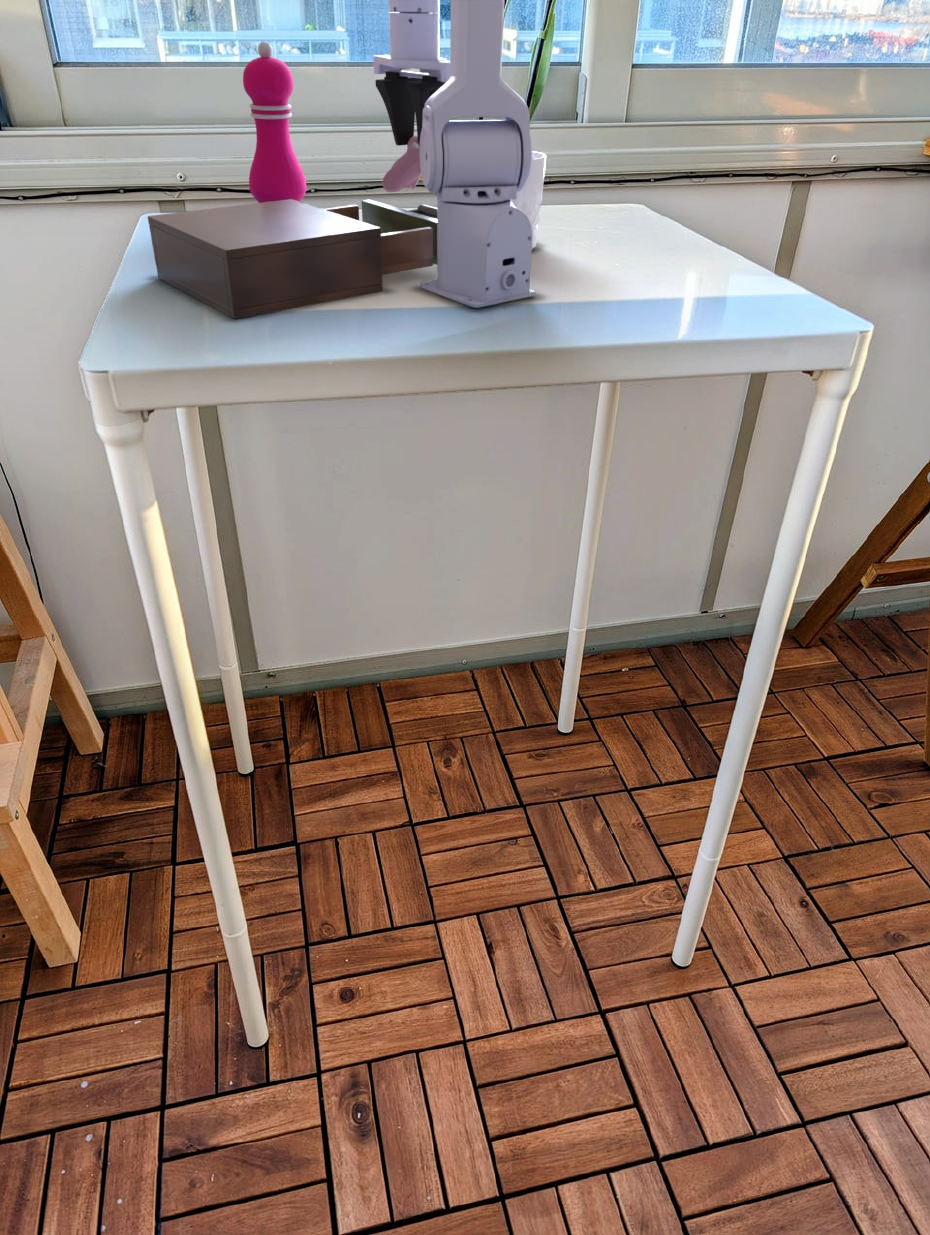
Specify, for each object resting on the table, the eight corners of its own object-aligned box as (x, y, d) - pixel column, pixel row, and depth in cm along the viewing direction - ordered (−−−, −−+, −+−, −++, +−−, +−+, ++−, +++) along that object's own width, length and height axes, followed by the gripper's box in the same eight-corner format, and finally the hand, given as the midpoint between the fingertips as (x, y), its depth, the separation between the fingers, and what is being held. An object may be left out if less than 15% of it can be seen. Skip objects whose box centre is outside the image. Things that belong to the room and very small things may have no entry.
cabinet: (296, 256, 103) (291, 198, 100) (383, 291, 92) (381, 227, 89) (157, 278, 95) (147, 216, 91) (234, 319, 84) (225, 250, 80)
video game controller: (412, 207, 110) (438, 151, 106) (378, 188, 109) (403, 130, 105) (420, 193, 118) (444, 140, 115) (388, 175, 117) (411, 121, 114)
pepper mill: (297, 229, 115) (282, 43, 103) (244, 226, 116) (223, 41, 104) (316, 218, 121) (304, 41, 109) (265, 215, 122) (247, 39, 110)
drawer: (403, 233, 110) (402, 195, 108) (489, 261, 100) (490, 219, 97) (253, 256, 100) (249, 214, 97) (332, 289, 89) (329, 243, 87)
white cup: (541, 240, 112) (546, 150, 106) (539, 255, 106) (545, 160, 100) (478, 237, 113) (480, 148, 107) (472, 252, 106) (474, 158, 101)
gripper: (482, 14, 99) (479, 152, 107) (406, 11, 109) (408, 138, 116) (430, 14, 96) (431, 156, 103) (356, 11, 105) (362, 142, 113)
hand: (416, 147), depth 110 cm, fingers closed on video game controller, 4 cm apart
